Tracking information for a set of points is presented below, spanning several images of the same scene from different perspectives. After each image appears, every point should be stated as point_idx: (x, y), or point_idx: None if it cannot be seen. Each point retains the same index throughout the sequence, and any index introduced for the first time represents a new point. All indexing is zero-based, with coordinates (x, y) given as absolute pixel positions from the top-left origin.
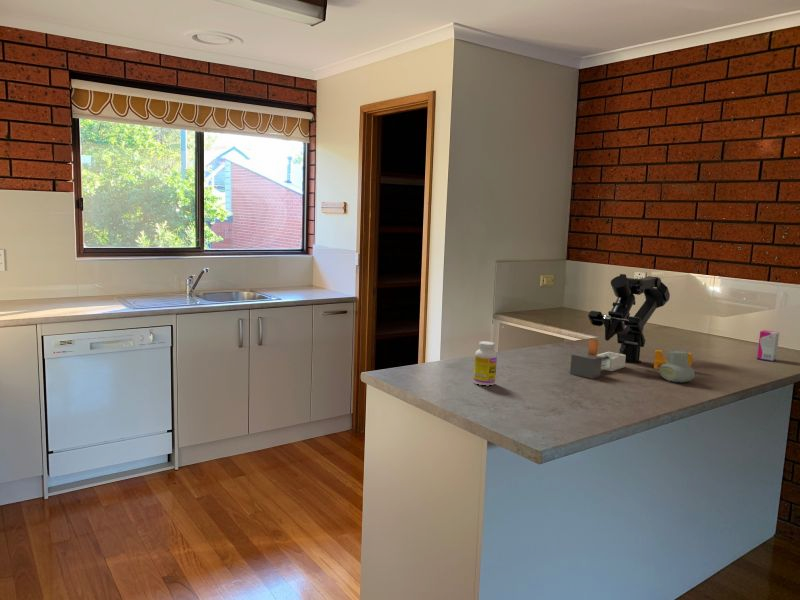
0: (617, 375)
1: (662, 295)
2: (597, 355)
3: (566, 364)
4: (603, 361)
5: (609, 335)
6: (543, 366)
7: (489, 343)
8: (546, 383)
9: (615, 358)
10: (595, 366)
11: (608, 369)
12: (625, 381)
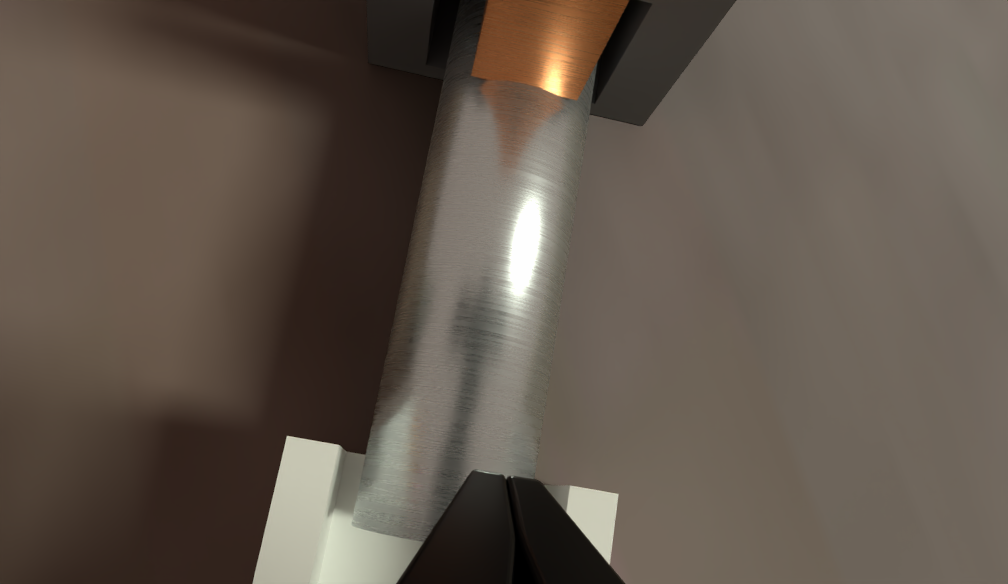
0: (189, 252)
1: None
2: (582, 504)
3: (880, 385)
4: (407, 273)
5: (433, 533)
6: (994, 97)
7: None
8: None
9: (262, 540)
10: None
11: (358, 454)
12: (42, 11)
